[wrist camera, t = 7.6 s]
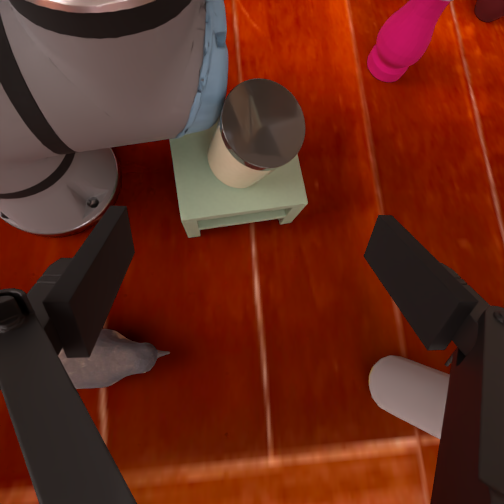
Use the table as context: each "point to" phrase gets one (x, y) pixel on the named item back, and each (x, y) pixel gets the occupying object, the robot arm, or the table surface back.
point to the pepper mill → (404, 38)
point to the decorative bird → (110, 361)
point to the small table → (230, 190)
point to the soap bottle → (410, 392)
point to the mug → (489, 9)
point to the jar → (255, 133)
